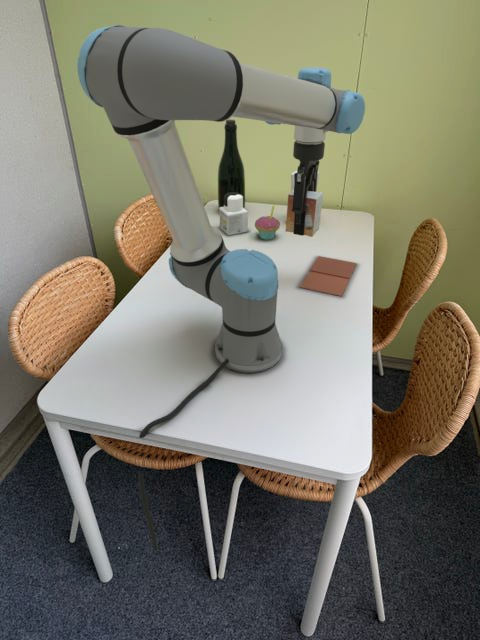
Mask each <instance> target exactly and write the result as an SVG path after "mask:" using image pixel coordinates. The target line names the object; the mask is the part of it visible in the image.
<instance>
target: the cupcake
mask: <svg viewBox="0 0 480 640" xmlns="http://www.w3.org/2000/svg"><path fill="white" fill-rule="evenodd" d="M274 211H275V204H273V205H272V206H271V211H270V215H267V216H262V217H258V219H256V220H255V222H254V227H255V229H256V230H257V231H258V234H259V237H260V239H261V240H265V241H266V240H272V239H274V237H275V235H276V233H277V231H278V230H280V227H281V222H280V221H279V220H278V219H277V218H275V217H274V216H273V214H274Z"/></svg>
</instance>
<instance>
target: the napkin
mask: <svg viewBox="0 0 480 640" xmlns="http://www.w3.org/2000/svg"><path fill="white" fill-rule="evenodd" d="M356 266H357V262H353V261H347V260H342V259H336V258H330V257H326V256H321V255H318V256H317V258H316V260H315V261H314V262H313V264H312V266H311V267H310V269H309V271H308V273H307V275H306V276H305V278H304V279H303V281H302V283H301V284H300V285H299V288H300V289H304V290H310V291H313V292H318V293H323V294H328V295H332V296H336V297H337V296H338V297H343V295H344V293H345V291H346V288H347V286H348V284H349V281H350V280H351V277H352V275H353V274H354V270H355V268H356Z"/></svg>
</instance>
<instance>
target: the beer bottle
mask: <svg viewBox="0 0 480 640" xmlns="http://www.w3.org/2000/svg"><path fill="white" fill-rule="evenodd" d="M237 131H238V125H237V123H236V120H235V119H228V120H226V121H225V123H224V145H223V151H222V154H221V157H220V161H219V163H218V169H217V208H218V211H219V208H220V207H224V195H225V194H227V193H230V192H237V193H240V194H242V196H243V208H244V209H246V174H245V166H244V165H245V164H244V162H243V159H242V156H241V154H240V151H239V147H238V146H239V145H238V132H237Z"/></svg>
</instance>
